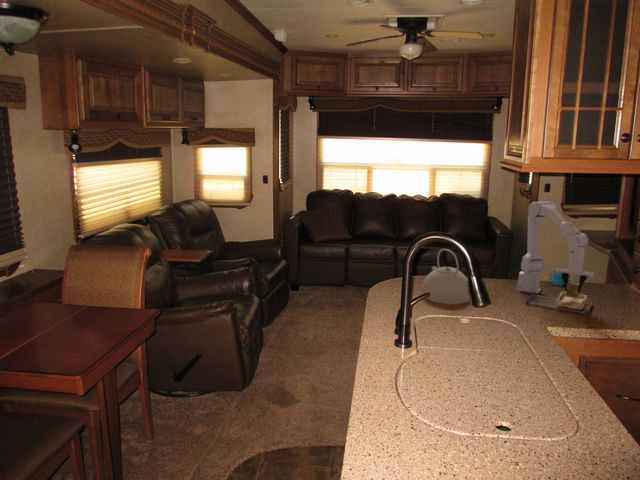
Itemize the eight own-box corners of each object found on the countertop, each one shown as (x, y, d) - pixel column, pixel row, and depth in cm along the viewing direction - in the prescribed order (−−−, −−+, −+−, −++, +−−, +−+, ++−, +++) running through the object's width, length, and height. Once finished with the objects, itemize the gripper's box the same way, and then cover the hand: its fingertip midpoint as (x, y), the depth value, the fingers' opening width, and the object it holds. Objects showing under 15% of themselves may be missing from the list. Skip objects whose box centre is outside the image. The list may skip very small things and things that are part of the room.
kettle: (410, 290, 252) (412, 244, 247) (451, 286, 258) (454, 242, 254) (436, 306, 228) (439, 256, 224) (480, 301, 235) (484, 253, 230)
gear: (545, 280, 263) (554, 265, 265) (547, 286, 267) (556, 271, 269) (566, 288, 255) (576, 272, 257) (568, 294, 259) (577, 278, 261)
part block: (566, 294, 227) (567, 283, 226) (567, 292, 230) (568, 281, 229) (577, 296, 224) (578, 285, 223) (578, 294, 228) (579, 283, 227)
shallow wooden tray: (555, 307, 225) (555, 300, 224) (561, 297, 237) (561, 291, 237) (582, 311, 219) (582, 304, 218) (586, 301, 232) (587, 295, 231)
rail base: (525, 304, 231) (525, 300, 231) (532, 295, 244) (533, 291, 244) (587, 315, 218) (587, 311, 217) (591, 304, 231) (592, 301, 231)
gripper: (556, 260, 225) (553, 290, 227) (593, 265, 217) (589, 296, 220) (559, 257, 230) (556, 286, 233) (595, 262, 223) (591, 292, 225)
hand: (572, 291), depth 227 cm, fingers closed on part block, 4 cm apart
